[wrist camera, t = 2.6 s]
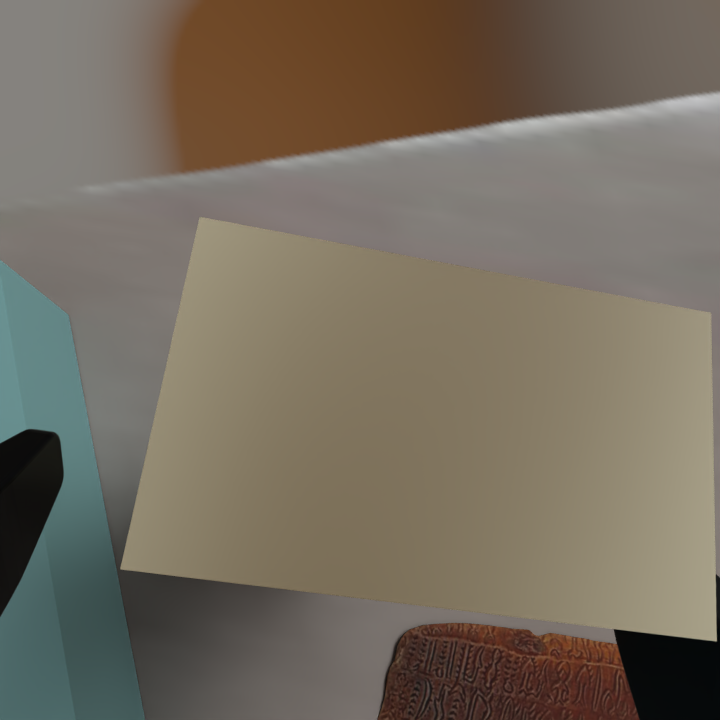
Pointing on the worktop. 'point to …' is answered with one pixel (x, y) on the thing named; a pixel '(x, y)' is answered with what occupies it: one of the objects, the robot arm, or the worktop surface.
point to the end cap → (60, 537)
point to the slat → (431, 438)
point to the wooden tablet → (504, 676)
